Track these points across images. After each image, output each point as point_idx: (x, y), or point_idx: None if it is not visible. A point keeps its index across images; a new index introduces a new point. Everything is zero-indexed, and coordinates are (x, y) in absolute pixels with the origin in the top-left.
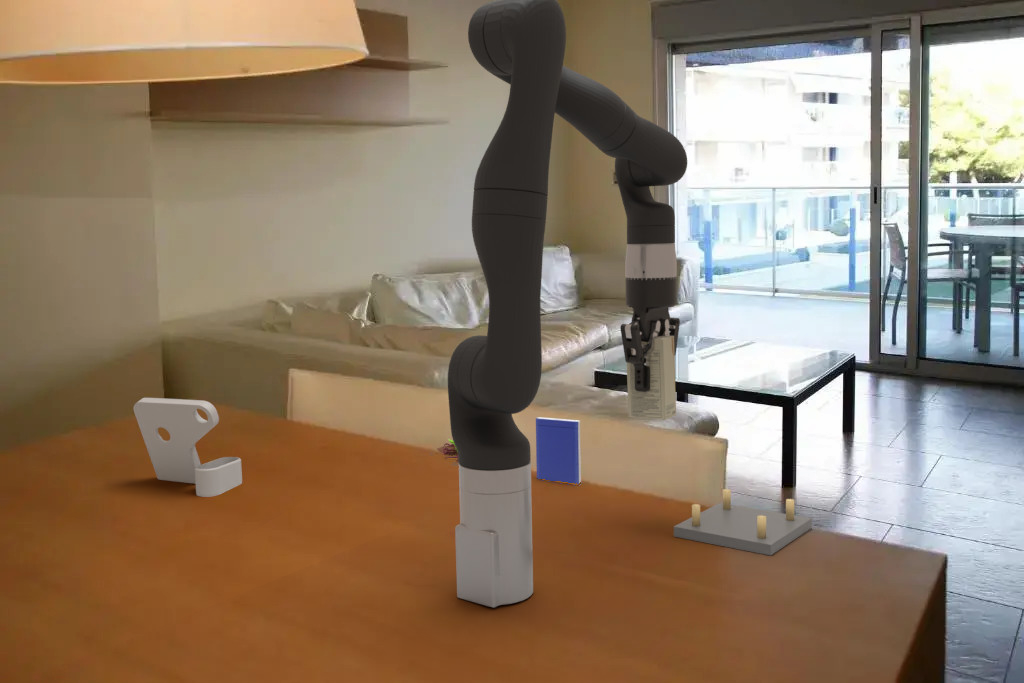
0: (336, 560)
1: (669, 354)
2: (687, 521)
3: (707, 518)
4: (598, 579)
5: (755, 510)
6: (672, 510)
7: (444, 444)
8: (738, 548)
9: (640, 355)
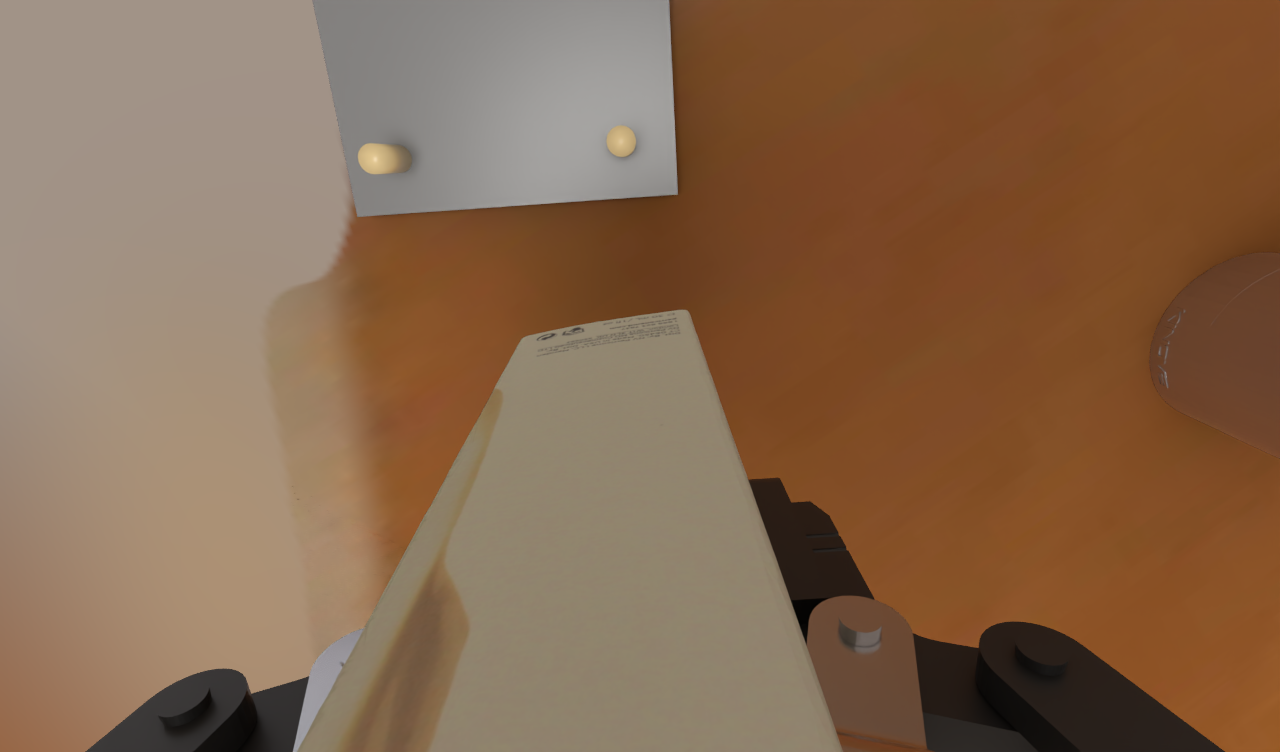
0: (1241, 685)
1: (570, 571)
2: (605, 187)
3: (536, 152)
4: (1112, 150)
5: (343, 63)
6: (457, 340)
7: None
8: None
9: (1112, 703)
